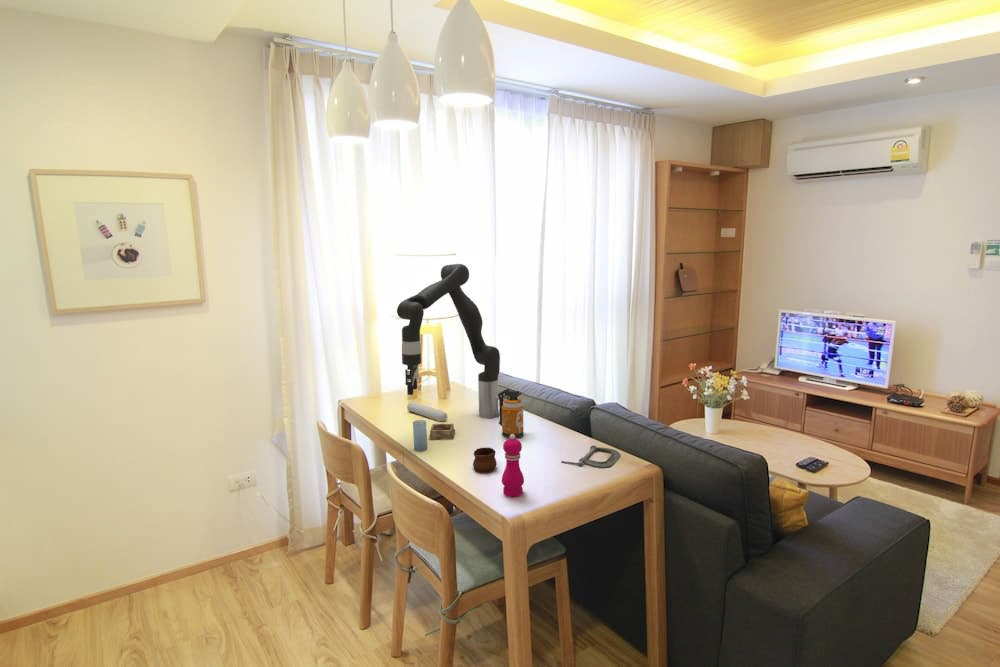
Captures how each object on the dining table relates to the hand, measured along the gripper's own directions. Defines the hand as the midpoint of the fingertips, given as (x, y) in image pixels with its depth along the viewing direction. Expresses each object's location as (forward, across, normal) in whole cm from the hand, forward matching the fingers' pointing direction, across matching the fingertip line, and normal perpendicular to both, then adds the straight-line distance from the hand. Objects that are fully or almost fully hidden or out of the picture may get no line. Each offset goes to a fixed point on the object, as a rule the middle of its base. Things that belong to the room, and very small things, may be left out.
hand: (412, 391), depth 220 cm
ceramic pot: (+22, -24, -30) cm, 45 cm away
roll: (+22, -5, -4) cm, 23 cm away
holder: (+22, +10, -10) cm, 26 cm away
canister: (+22, +10, -39) cm, 46 cm away
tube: (+22, +36, 0) cm, 42 cm away
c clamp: (+22, -15, -71) cm, 76 cm away
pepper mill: (+22, -44, -41) cm, 64 cm away
